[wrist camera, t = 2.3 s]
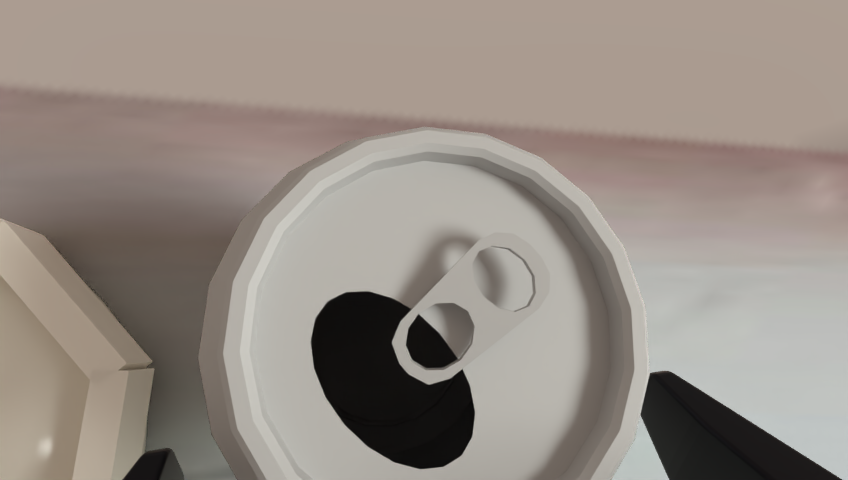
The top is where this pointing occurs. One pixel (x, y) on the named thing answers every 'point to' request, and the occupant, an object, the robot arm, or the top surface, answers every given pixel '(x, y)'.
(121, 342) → the bowl
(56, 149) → the top surface
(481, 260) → the can
